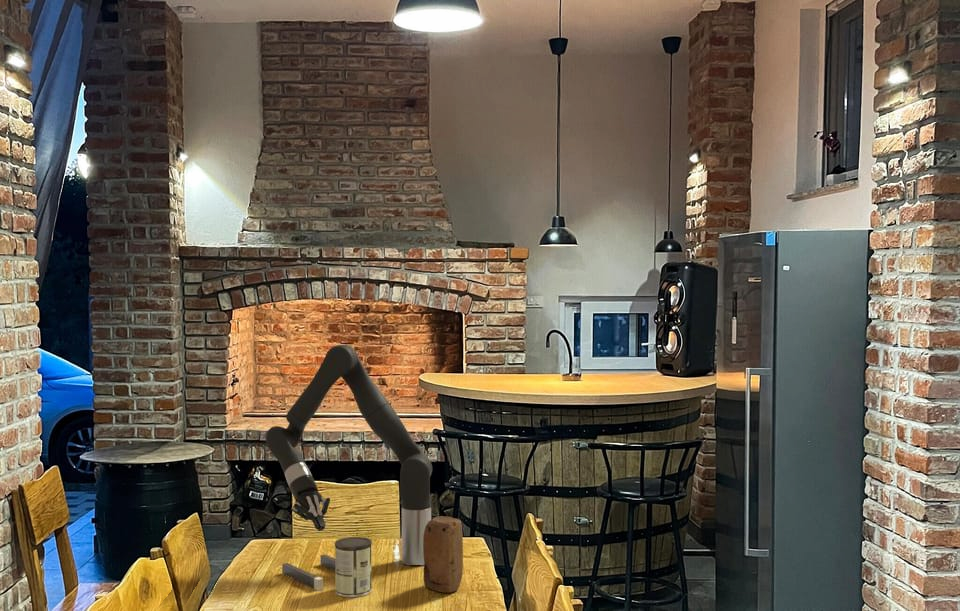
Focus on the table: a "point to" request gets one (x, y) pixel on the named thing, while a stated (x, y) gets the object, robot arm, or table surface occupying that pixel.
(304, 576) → the grey parallel rails
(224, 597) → the table surface
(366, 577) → the coffee can
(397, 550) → the table surface
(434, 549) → the block
